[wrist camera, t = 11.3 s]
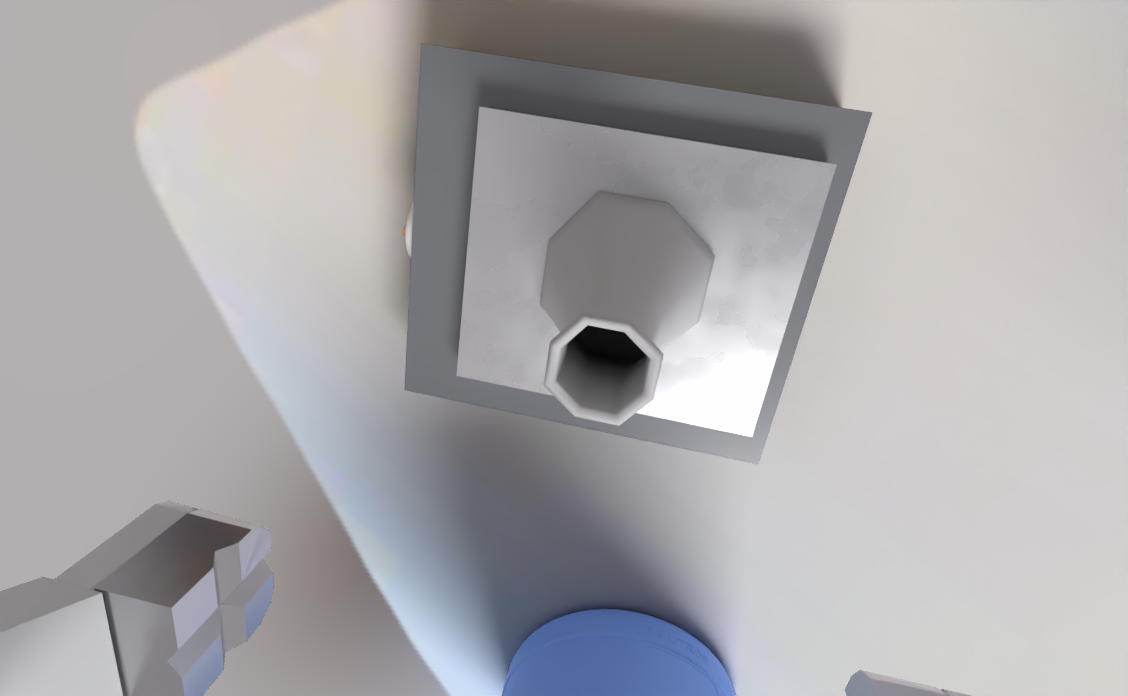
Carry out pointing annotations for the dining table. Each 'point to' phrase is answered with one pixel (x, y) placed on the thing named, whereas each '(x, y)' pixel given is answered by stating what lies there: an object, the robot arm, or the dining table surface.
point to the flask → (619, 302)
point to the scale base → (607, 100)
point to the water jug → (614, 659)
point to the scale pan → (652, 172)
